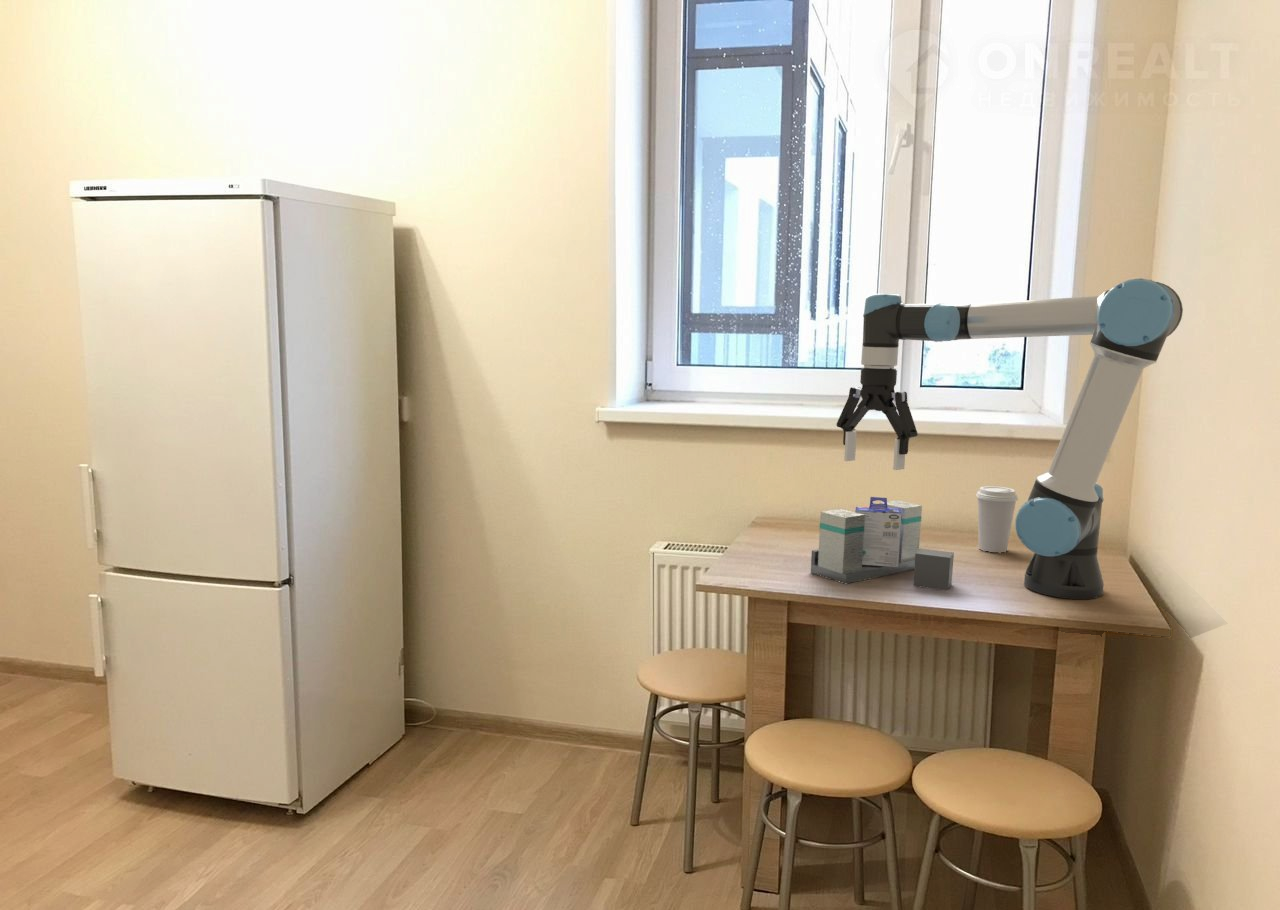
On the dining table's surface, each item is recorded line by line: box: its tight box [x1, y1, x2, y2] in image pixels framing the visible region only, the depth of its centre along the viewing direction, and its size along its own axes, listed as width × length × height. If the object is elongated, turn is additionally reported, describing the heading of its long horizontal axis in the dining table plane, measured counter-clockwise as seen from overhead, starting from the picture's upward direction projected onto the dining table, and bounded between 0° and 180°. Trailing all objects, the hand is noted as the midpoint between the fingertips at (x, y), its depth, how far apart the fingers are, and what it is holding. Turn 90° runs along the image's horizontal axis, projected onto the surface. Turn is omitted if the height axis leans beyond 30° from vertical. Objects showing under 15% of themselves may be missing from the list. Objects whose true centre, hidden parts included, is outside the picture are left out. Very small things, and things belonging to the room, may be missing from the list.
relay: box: [912, 547, 955, 591], centre depth 199 cm, size 5×7×7 cm
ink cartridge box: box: [854, 496, 902, 567], centre depth 207 cm, size 10×6×14 cm, turn 79°
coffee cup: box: [975, 485, 1019, 553], centre depth 230 cm, size 10×10×15 cm
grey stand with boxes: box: [810, 499, 923, 584], centre depth 209 cm, size 10×25×14 cm, turn 126°
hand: (873, 465), depth 207 cm, fingers open, 13 cm apart
